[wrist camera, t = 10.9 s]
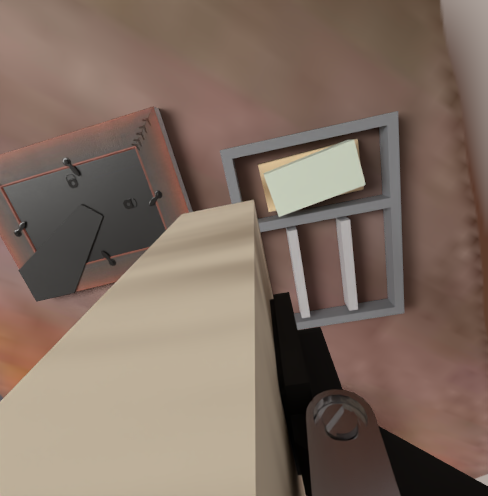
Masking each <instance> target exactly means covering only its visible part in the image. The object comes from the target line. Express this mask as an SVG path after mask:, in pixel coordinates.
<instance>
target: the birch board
mask: <svg viewBox="0 0 488 496" xmlns="http://www.w3.org/2000/svg"><path fill="white" fill-rule="evenodd" d="M270 299H273V294H272V289H271V284H270V279H269V274H268V269H267V264H266V259H265V253H264V248H263V243H262V238H261V233H260V228H259V223H258V218H257V213H256V208H255V203H254V200H250V201H245V202H240V203H235V204H230V205H225V206H220V207H215V208H210V209H205V210H200V211H195V212H190V213H185V214H181V215H180V216H179V217H178V218H177V220H176V221H175V222H174V223H173V224H172V225H171V226H170V227H169V228H168V229H167V230H166V231H165V232H164V233H163V234H162V235H161V236H160V237H159V238H158V239H157V240H156V241H155V242H154V243H153V244H152V245H151V246H150V247H149V248H148V250H147V251H146V252H145V253H144V254H143V255H142V256H141V257H140V258H139V259H138V260H137V261H136V262H135V263H134V264H133V265H132V266H131V267H130V268H129V269H128V270H127V271H126V272H125V273H124V274H123V275H122V276H121V277H120V278H119V280H118V281H117V282H116V283H115V284H114V285H113V286H112V287H111V288H110V289H109V290H108V291H107V292H106V293H105V294H104V295H103V296H102V297H101V298H100V299H99V300H98V301H97V302H96V303H95V304H94V305H93V306H92V307H91V308H90V309H89V311H88V312H87V313H86V314H85V315H84V316H83V317H82V318H81V319H80V320H79V321H78V322H77V323H76V324H75V325H74V326H73V327H72V328H71V329H70V330H69V331H68V332H67V333H66V334H65V335H64V336H63V337H62V338H61V339H60V341H59V342H58V343H57V344H56V345H55V346H54V347H53V348H52V349H51V350H50V351H49V352H48V353H47V354H46V355H45V356H44V357H43V358H42V359H41V360H40V361H39V362H38V363H37V364H36V365H35V366H34V367H33V368H32V369H31V371H30V372H29V373H28V374H27V375H26V376H25V377H24V378H23V379H22V380H21V381H20V382H19V383H18V384H17V385H16V386H15V387H14V388H13V389H12V390H11V391H10V392H9V393H8V394H7V395H6V396H5V397H4V398H3V399H2V401H1V402H0V496H305V489H304V485H303V480H302V475H298V474H297V469H296V465H295V460H294V456H293V451H292V446H291V442H290V437H289V433H288V428H287V423H286V419H285V414H284V409H283V405H282V400H281V395H280V390H279V384H278V376H277V366H276V356H275V347H274V337H273V327H272V317H271V308H270Z"/></svg>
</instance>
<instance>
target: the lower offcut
mask: <svg viewBox="0 0 488 496" xmlns="http://www.w3.org/2000/svg"><path fill="white" fill-rule="evenodd" d="M352 140H354V141H355V145H356V149H357V153H358V157H359V161H360V155H359V147H358V139H352ZM337 144H338V143H337ZM333 145H336V144H333ZM333 145H329V146H326V147H322V148H318V149H314V150H310V151H306V152H303V153H299V154H295V155H291V156H287V157H284V158H280V159H276V160H272V161H268V162H264V163H261V164H258V167H259V171H260V176H261V180H262V184H263V189H264V193H265V197H266V202H267V206H268V210H269V212H271V211H276V208H275V205H274V202H273V199H272V197H271V194H270V191H269V188H268V186H267V183H266V180H265V177H264V174H263V173H265V172H267V171H270V170H272V169H275V168H277V167H280V166H282V165H285V164H288V163H290V162H293V161H295V160H298V159H300V158H303V157H305V156H308V155H310V154H313V153H315V152H318V151H320V150H323V149H325V148H328V147H330V146H333ZM360 164H361V163H360ZM362 189H364V187H363V186H361V187H359V188H356V189H353V190H351V191H348V192H345V193H343V194H346V193H350V192H354V191H358V190H362ZM340 195H342V194H340ZM337 196H338V195H337Z"/></svg>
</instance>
